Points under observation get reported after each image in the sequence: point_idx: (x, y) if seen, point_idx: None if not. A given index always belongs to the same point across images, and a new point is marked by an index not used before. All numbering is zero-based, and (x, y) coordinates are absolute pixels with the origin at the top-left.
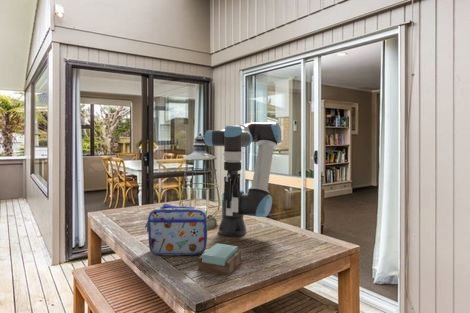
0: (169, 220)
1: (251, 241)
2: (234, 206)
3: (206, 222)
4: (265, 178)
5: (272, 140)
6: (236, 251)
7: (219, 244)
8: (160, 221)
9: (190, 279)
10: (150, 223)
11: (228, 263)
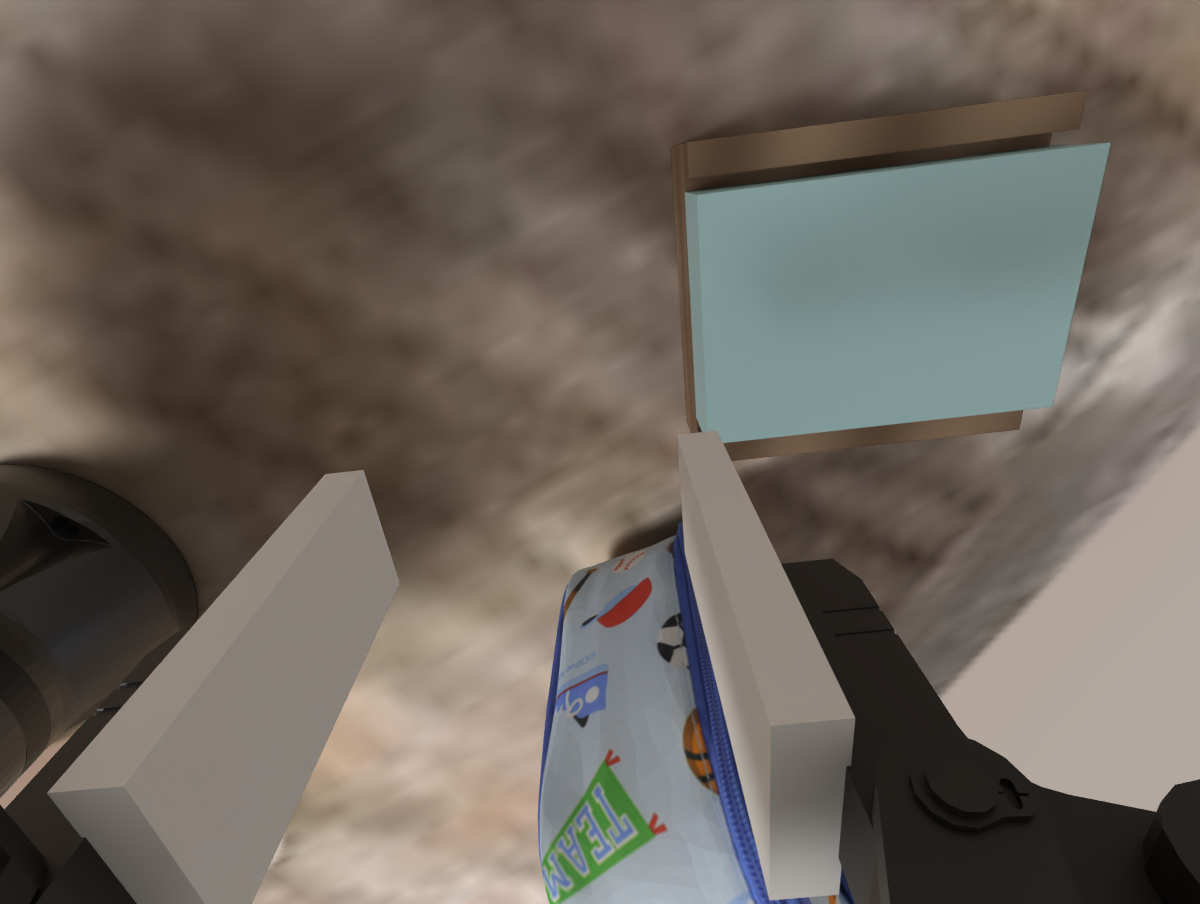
0: None
1: (120, 316)
2: (332, 618)
3: (697, 708)
4: None
5: None
6: (722, 188)
7: (729, 404)
8: None
9: (1126, 351)
10: None
11: (1079, 95)
